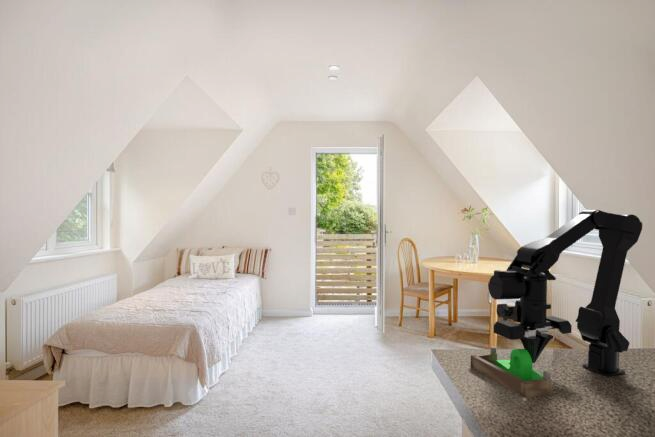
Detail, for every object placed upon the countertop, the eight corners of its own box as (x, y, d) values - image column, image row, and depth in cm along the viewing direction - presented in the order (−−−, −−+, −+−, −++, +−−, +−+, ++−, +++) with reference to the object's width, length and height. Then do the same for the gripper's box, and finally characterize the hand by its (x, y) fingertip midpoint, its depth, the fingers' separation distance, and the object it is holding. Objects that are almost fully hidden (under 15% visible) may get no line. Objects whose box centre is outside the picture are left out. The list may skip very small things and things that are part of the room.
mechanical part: (548, 388, 87) (549, 353, 87) (523, 389, 87) (524, 354, 87) (518, 367, 99) (518, 336, 99) (495, 367, 99) (496, 336, 99)
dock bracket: (493, 363, 101) (493, 346, 101) (551, 393, 84) (552, 373, 84) (470, 366, 99) (470, 349, 99) (525, 398, 82) (526, 377, 82)
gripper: (535, 289, 104) (534, 347, 104) (478, 293, 98) (477, 354, 98) (573, 298, 93) (572, 363, 94) (512, 303, 88) (510, 372, 88)
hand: (531, 362), depth 94 cm, fingers closed
